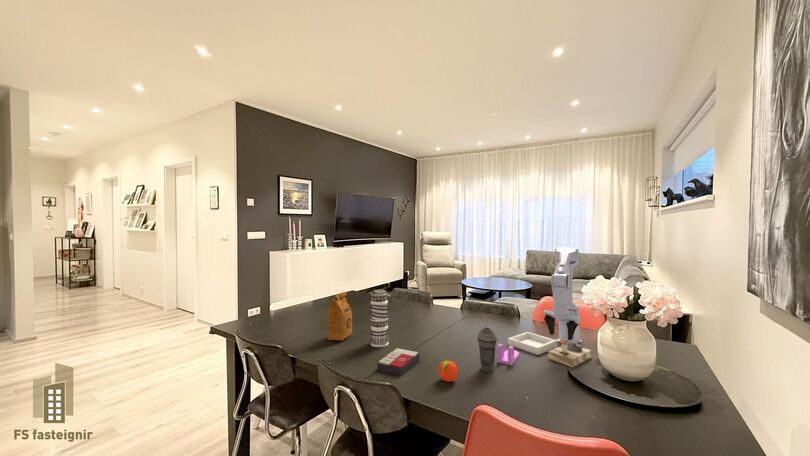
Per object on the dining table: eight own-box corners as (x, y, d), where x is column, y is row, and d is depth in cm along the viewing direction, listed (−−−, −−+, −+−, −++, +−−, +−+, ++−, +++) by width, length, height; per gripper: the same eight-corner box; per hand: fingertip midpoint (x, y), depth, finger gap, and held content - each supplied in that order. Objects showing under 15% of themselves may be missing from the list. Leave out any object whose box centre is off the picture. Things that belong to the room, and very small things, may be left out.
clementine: (451, 388, 109) (451, 367, 109) (433, 383, 113) (433, 363, 113) (461, 379, 116) (460, 359, 116) (443, 374, 120) (443, 355, 120)
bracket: (511, 365, 127) (511, 348, 126) (497, 362, 130) (497, 345, 130) (520, 354, 137) (520, 338, 137) (507, 352, 140) (507, 336, 140)
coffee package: (355, 334, 165) (355, 291, 165) (342, 343, 153) (342, 296, 153) (338, 332, 168) (338, 290, 168) (324, 340, 156) (324, 295, 156)
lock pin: (563, 358, 132) (562, 339, 132) (569, 360, 130) (569, 341, 130) (559, 360, 131) (559, 340, 131) (566, 362, 128) (566, 342, 128)
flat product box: (376, 361, 124) (396, 346, 137) (377, 372, 124) (397, 356, 137) (401, 367, 119) (419, 351, 132) (401, 378, 119) (420, 361, 132)
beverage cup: (486, 374, 119) (486, 320, 119) (473, 367, 125) (473, 315, 125) (501, 370, 122) (500, 317, 122) (488, 363, 129) (487, 313, 129)
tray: (527, 337, 157) (527, 331, 157) (557, 347, 145) (557, 340, 145) (508, 344, 148) (508, 338, 148) (538, 355, 136) (538, 348, 136)
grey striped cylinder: (366, 345, 149) (365, 291, 149) (375, 339, 158) (374, 288, 157) (384, 348, 146) (383, 293, 145) (392, 341, 154) (391, 289, 154)
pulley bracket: (567, 350, 141) (566, 337, 141) (591, 357, 133) (591, 344, 133) (548, 358, 132) (548, 345, 132) (572, 367, 124) (572, 352, 124)
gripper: (538, 301, 134) (538, 334, 134) (573, 308, 123) (573, 344, 123) (548, 299, 138) (548, 330, 139) (582, 305, 127) (583, 340, 127)
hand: (561, 336), depth 131 cm, fingers open, 7 cm apart
